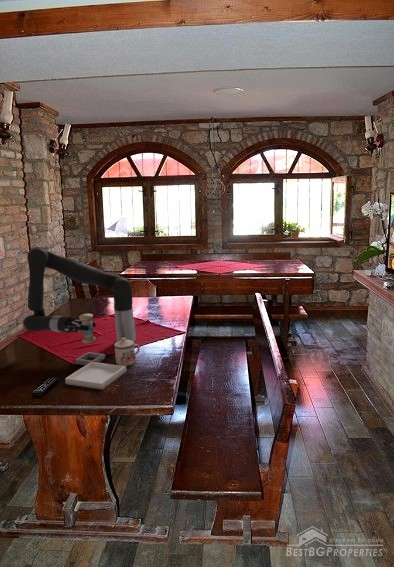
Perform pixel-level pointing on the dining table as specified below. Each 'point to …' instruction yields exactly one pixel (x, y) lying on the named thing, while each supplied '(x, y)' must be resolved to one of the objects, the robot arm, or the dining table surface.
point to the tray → (96, 375)
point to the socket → (97, 357)
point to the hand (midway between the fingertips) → (91, 326)
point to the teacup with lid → (125, 352)
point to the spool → (89, 334)
